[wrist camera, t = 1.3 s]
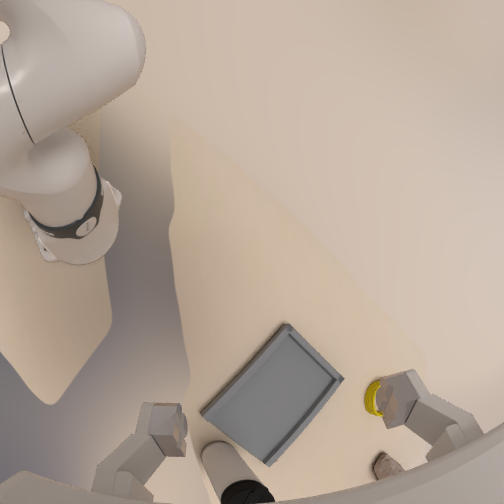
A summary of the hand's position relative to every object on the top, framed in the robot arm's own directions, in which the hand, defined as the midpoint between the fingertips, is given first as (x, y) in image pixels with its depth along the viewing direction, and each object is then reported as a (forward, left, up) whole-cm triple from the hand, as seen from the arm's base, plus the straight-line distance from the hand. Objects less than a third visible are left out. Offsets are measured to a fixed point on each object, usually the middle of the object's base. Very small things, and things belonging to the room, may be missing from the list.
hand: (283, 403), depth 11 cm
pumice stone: (+55, +7, -41) cm, 69 cm away
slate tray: (+17, +5, -40) cm, 44 cm away
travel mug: (+17, -10, -41) cm, 45 cm away
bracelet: (+37, +19, -41) cm, 58 cm away
